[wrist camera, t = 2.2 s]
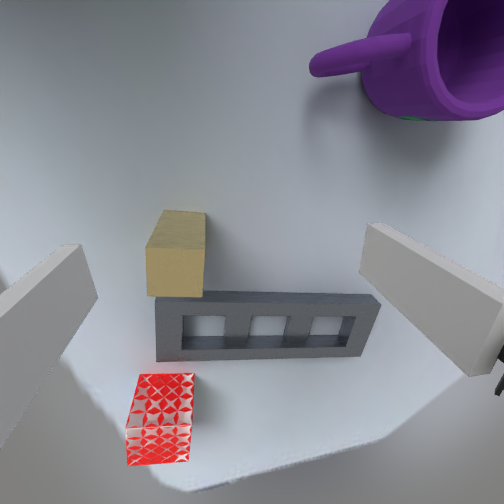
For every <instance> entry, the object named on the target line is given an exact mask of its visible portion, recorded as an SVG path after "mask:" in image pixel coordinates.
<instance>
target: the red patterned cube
mask: <svg viewBox="0 0 504 504" xmlns="http://www.w3.org/2000/svg"><path fill="white" fill-rule="evenodd" d="M194 375H195V373H182V374H140V375H139V379H138V383H137V387H136V390H135V394H134V398H133V402H132V405H131V409H130V413H129V417H128V420H127V424H126V428H125V433H126V449H127V466H137V465H149V464H161V463H173V462H186V461H189V452H190V442H191V431H192V417H193V396H194Z"/></svg>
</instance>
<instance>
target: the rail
mask: <svg viewBox="0 0 504 504" xmlns="http://www.w3.org/2000/svg"><path fill="white" fill-rule="evenodd" d="M380 307H381V304H380V303H379V302H378V301H377V300H376V299H375V298H374V297H373V296H372V295H367V294H325V293H282V292H239V291H203V293H202V297H156V300H155V323H156V362H175V361H211V360H248V359H284V358H321V357H357V356H361V354H362V352H363V349H364V347H365V344H366V342H367V339H368V337H369V334H370V332H371V329H372V327H373V324H374V322H375V319H376V317H377V314H378V312H379V309H380ZM183 315H217V316H226V319H225V328H224V336H195V337H183ZM251 316H288V318H287V322H286V326H285V331H284V335H283V336H248V334H249V328H250V322H251ZM314 316H344V319H343V322H342V325H341V328H340V331H339V334H338V335H308V334H309V331H310V327H311V324H312V320H313V317H314Z"/></svg>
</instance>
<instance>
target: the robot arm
mask: <svg viewBox="0 0 504 504" xmlns="http://www.w3.org/2000/svg"><path fill="white" fill-rule="evenodd" d="M359 273H360V274H361V275H362V276H363V277H364V278H365V279H366V280H367V281H368V282H369V283H370V284H371V285H372V286H373V287H375V288H376V289H377V290H378V291H379V292H380V293H381V294H382V295H383V296H384V297H385V298H386V299H387V300H388V301H389V302H390V303H391V304H392V305H393V306H394V307H396V308H397V309H398V310H399V311H400V312H401V313H402V314H403V315H404V316H405V317H406V318H407V319H408V320H409V321H410V322H411V323H412V324H413V325H414V326H415V327H417V328H418V329H419V330H420V331H421V332H422V333H423V334H424V335H425V336H426V337H427V338H428V339H429V340H430V341H431V342H432V343H433V344H434V345H435V346H436V347H438V348H439V349H440V350H441V351H442V352H443V353H444V354H445V355H446V356H447V357H448V358H449V359H450V360H451V361H452V362H453V363H454V364H455V365H456V366H458V367H459V368H460V369H461V370H462V371H463V372H464V373H465V374H466V375H467V376H468V377H471V376H477V375H483V374H490V373H491V371H492V369H493V367H494V365H495V363H496V361H497V359H499V360H500V361H502V362H503V363H504V288H502V287H500V286H498V285H497V284H495V283H493V282H491V281H489V280H487V279H485V278H484V277H482V276H480V275H478V274H476V273H474V272H472V271H471V270H469V269H467V268H465V267H463V266H461V265H459V264H458V263H456V262H454V261H452V260H450V259H448V258H446V257H445V256H443V255H441V254H439V253H437V252H435V251H434V250H432V249H430V248H428V247H426V246H424V245H422V244H421V243H419V242H417V241H415V240H413V239H411V238H409V237H408V236H406V235H404V234H402V233H400V232H398V231H396V230H395V229H393V228H391V227H389V226H387V225H385V224H384V223H370V224H367V230H366V235H365V241H364V247H363V252H362V258H361V263H360V269H359ZM97 299H98V295H97V292H96V289H95V286H94V283H93V280H92V277H91V274H90V270H89V267H88V264H87V261H86V258H85V255H84V252H83V248H82V245H81V244H75V245H62V246H60V247H59V248H58V249H57V250H55V251H54V252H53V253H52V254H50V255H49V256H48V257H47V258H45V259H44V260H43V261H42V262H40V263H39V264H38V265H37V266H35V267H34V268H33V269H32V270H30V271H29V272H28V273H27V274H25V275H24V276H23V277H22V278H20V279H19V280H18V281H17V282H15V283H14V284H13V285H12V286H11V287H9V288H8V289H7V290H6V291H4V292H3V293H2V294H1V295H0V449H1V448H2V446H3V445H4V443H5V441H6V440H7V438H8V437H9V435H10V434H11V432H12V431H13V429H14V427H15V426H16V424H17V423H18V421H19V420H20V418H21V417H22V415H23V414H24V412H25V410H26V409H27V407H28V406H29V404H30V403H31V401H32V400H33V398H34V396H35V395H36V393H37V392H38V390H39V389H40V387H41V386H42V384H43V383H44V381H45V379H46V378H47V376H48V375H49V373H50V372H51V370H52V369H53V367H54V365H55V364H56V362H57V361H58V359H59V358H60V356H61V355H62V353H63V352H64V350H65V348H66V347H67V345H68V344H69V342H70V341H71V339H72V338H73V336H74V334H75V333H76V331H77V330H78V328H79V327H80V325H81V324H82V322H83V321H84V319H85V317H86V316H87V314H88V313H89V311H90V310H91V308H92V307H93V305H94V303H95V302H96V300H97ZM502 390H504V374H503V376H502V378H501V380H500V382H499V383H498V385H497V387H496V389H495V395H498V396H500V394H501V392H502Z"/></svg>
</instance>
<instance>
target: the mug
mask: <svg viewBox="0 0 504 504" xmlns="http://www.w3.org/2000/svg"><path fill="white" fill-rule="evenodd" d="M309 70H310V73H311V74H312V75H313V76H315V77H328V76H336V75H343V74H348V73H354V72H359V71H361V73H362V81H363V85H364V88H365V91H366V93H367V95H368V97H369V98H370V100H371V101H372V103H373V104H374V105H375V106H376V107H377V108H378V109H379V110H381V111H382V112H383V113H386V114H389V115H392V116H395V117H398V118H402V119H407V120H423V121H465V120H479V119H482V118H485V117H489V116H492V115H495V114H497V113H499V112H501V111H502V110H504V0H389V2H388V3H387V4H386V5H385V6H384V7H383V8H382V10H381V11H380V12H379V14H378V15H377V17H376V19H375V21H374V22H373V24H372V26H371V28H370V30H369V33H368V36H367V38H365V39H361V40H357V41H353V42H350V43H347V44H343V45H340V46H337V47H334V48H331V49H328V50H325V51H322V52H320V53H317V54H316V55H315V56H314V57H313V58H312V59H311V61H310V63H309Z"/></svg>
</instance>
